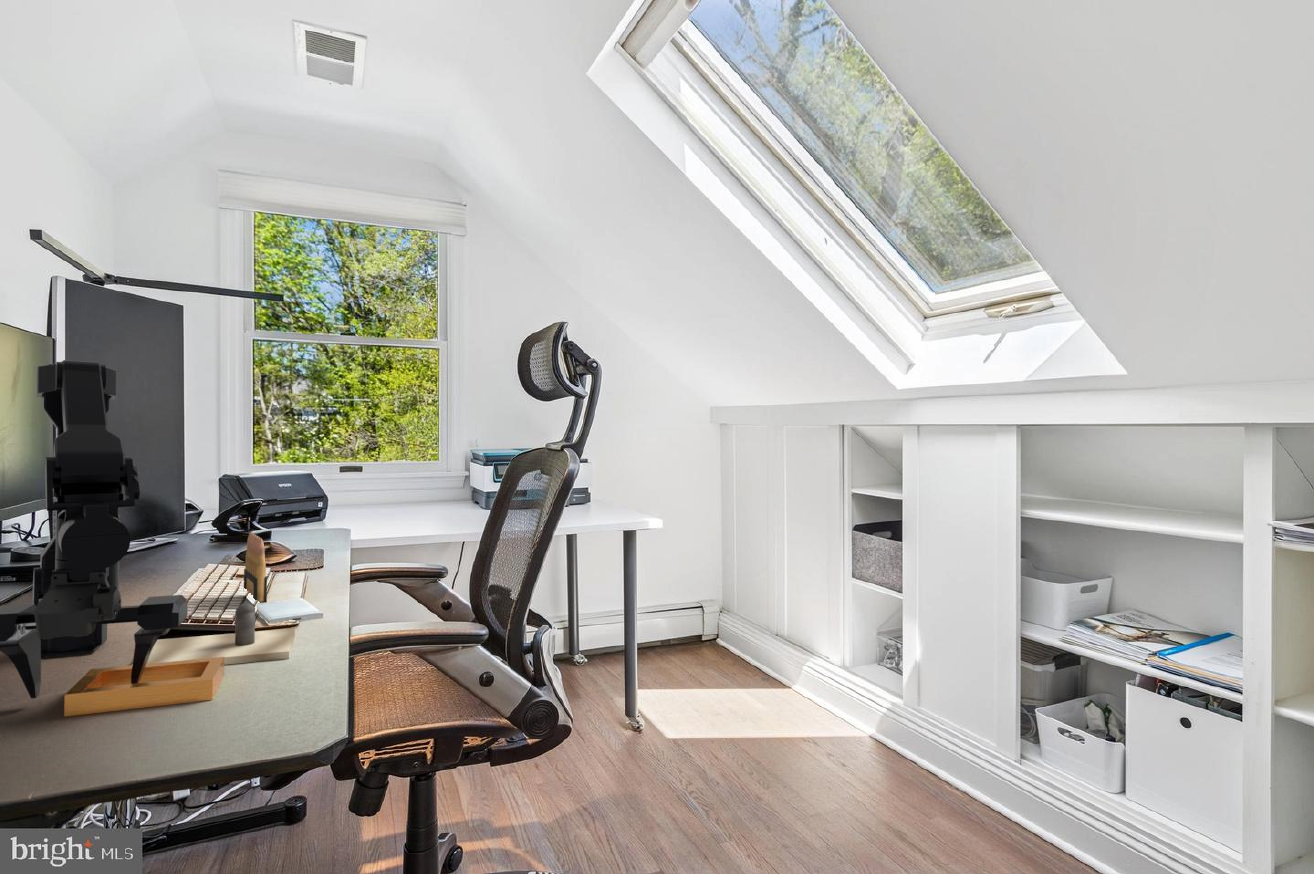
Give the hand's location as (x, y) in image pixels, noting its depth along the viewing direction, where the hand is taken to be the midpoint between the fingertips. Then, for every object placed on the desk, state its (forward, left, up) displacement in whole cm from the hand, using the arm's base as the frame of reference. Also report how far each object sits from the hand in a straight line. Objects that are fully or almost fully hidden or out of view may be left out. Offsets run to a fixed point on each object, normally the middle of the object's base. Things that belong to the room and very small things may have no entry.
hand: (85, 692), depth 82 cm
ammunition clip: (+12, +47, -1) cm, 49 cm away
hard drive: (+18, +35, -2) cm, 40 cm away
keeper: (+11, +15, -1) cm, 19 cm away
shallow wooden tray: (+6, 0, -1) cm, 6 cm away
